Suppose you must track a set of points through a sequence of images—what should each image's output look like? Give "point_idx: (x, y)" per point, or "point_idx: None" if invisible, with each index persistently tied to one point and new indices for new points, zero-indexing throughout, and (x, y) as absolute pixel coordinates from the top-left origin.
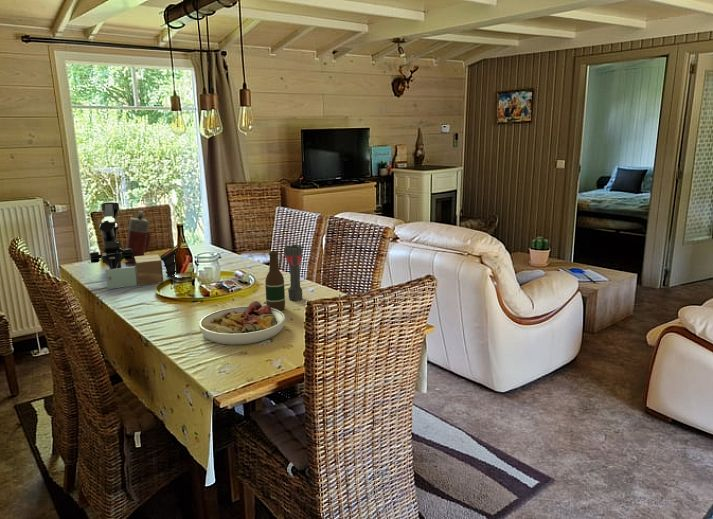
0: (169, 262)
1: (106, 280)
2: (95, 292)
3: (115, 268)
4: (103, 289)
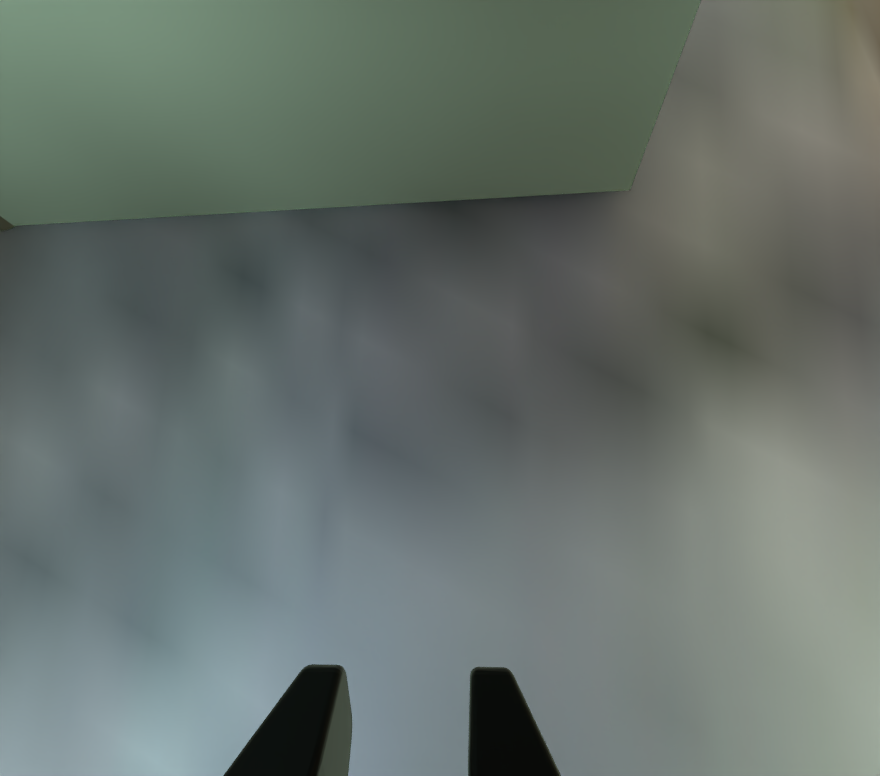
0: None
1: (670, 55)
2: (866, 80)
3: (310, 706)
4: (711, 244)
